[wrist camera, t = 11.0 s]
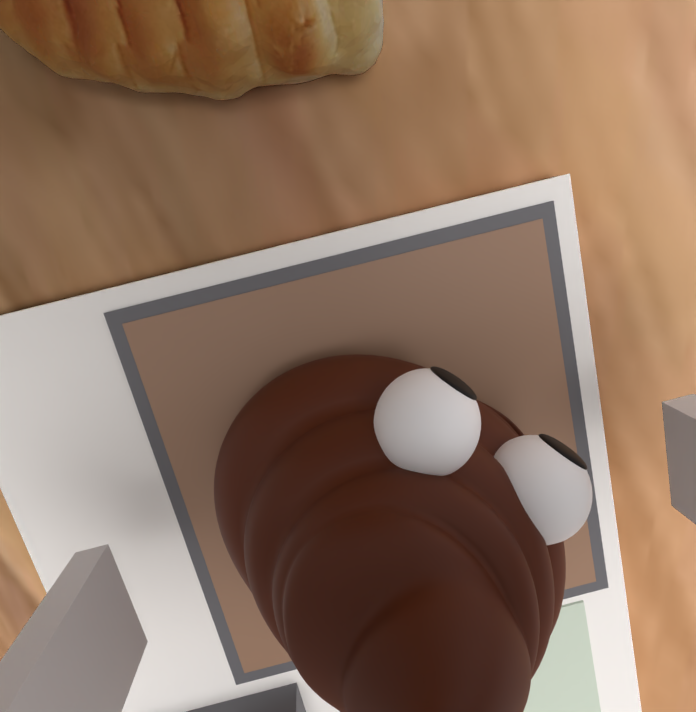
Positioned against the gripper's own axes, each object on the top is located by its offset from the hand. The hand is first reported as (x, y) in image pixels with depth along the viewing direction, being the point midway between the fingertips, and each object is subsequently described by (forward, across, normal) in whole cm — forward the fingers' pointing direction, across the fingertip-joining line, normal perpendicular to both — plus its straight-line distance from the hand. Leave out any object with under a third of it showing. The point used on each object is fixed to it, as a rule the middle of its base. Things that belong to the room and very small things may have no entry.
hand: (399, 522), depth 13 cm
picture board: (+5, -2, -3) cm, 6 cm away
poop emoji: (+4, 0, -1) cm, 4 cm away
